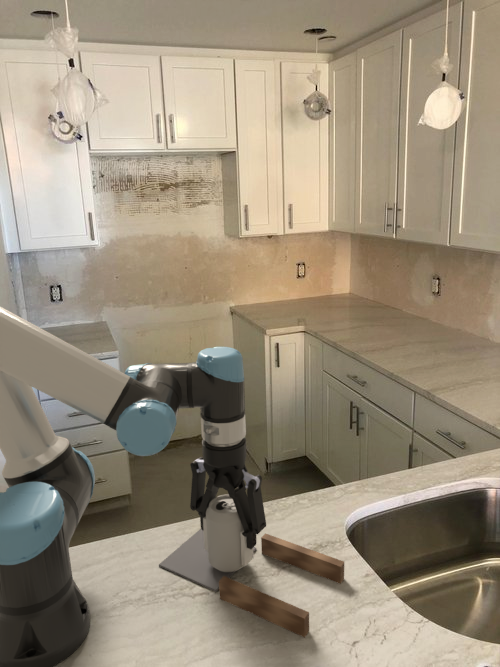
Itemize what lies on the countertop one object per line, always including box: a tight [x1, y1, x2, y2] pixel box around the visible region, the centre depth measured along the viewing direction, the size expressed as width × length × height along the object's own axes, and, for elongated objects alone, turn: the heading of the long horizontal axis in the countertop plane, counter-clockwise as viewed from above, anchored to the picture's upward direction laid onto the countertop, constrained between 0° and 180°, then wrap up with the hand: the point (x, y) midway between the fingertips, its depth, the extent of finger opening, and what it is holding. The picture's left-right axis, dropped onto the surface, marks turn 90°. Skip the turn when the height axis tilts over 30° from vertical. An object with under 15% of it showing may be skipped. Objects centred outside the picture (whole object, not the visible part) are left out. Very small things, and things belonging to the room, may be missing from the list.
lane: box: [218, 533, 345, 638], centre depth 93 cm, size 16×15×4 cm
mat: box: [158, 528, 257, 593], centre depth 102 cm, size 13×13×1 cm
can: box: [206, 494, 244, 572], centre depth 97 cm, size 8×8×12 cm
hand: (228, 553), depth 98 cm, fingers closed on can, 7 cm apart
